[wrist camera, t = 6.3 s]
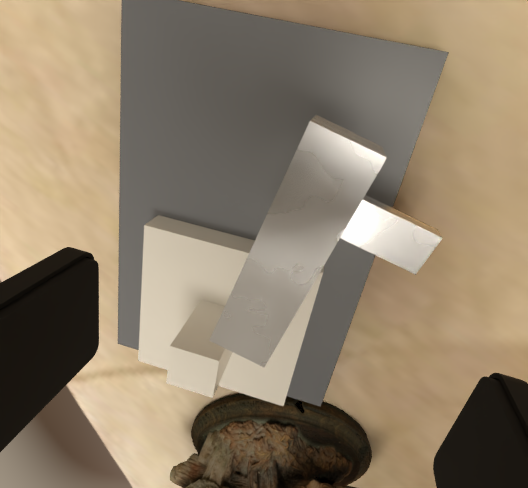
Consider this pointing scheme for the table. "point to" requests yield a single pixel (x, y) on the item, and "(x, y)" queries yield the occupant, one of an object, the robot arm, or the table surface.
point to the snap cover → (205, 313)
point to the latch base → (254, 139)
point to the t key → (315, 236)
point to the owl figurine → (273, 446)
